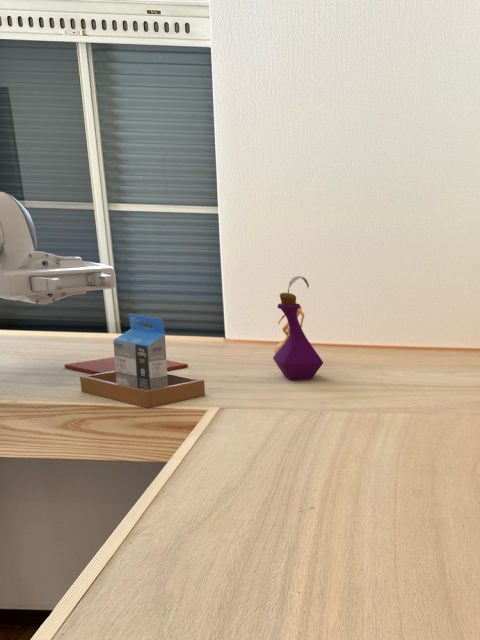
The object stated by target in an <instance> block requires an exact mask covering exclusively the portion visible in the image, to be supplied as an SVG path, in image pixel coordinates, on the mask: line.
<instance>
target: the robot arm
mask: <svg viewBox="0 0 480 640" xmlns="http://www.w3.org/2000/svg"><path fill="white" fill-rule="evenodd" d="M33 221H34V220H33V219H32V217H31V215H30V213H29V211H28V210H27V209H26V208H25V207H24V206H23V204H21V203H20V201H18V199H17V198H15V197H14V196H13V195H11V194H9V193H8V192H5V191H0V299H4V300H9V301H20V302H24V303H30V304H38V305H48V304H52V303H54V302H56V301H59V300H62V299H65V298H67V297H74V296H78V295H83V294H84V295H85V294H86V293H87V292H90V291H101V290H102V291H103V290H111V289H114V288H115V287H116V285H117V279H116V272H115V269H114V268H113V266H111V265H108V264H103V263H98V262H93V261H86V260H83V259H82V257H80V256H72V255H71V256H69V255H67V256H64V255H56V254H54V253H49V252H45V251H37V246H38V245H37V243H38V241H37V240H38V239H37V233H36V228H35V225H34V222H33Z"/></svg>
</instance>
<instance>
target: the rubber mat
mask: <svg viewBox="0 0 480 640" xmlns="http://www.w3.org/2000/svg"><path fill="white" fill-rule="evenodd" d="M166 362H167V372H168V371H173V370H180V369H186V368H189V364H188V363H184V362H178V361H174V360H167V359H166ZM64 368H65V369H70V370H74V371H77V372H84V373H88V374H91V375H92V374H98V373H104V372H110V371H116V368H115V356H112V357H105V358H98V359H92V360H85V361H79V362H72V363H71V362H70V363H65V364H64Z"/></svg>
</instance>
